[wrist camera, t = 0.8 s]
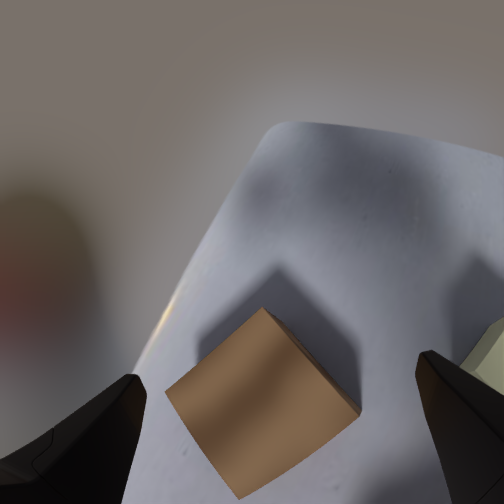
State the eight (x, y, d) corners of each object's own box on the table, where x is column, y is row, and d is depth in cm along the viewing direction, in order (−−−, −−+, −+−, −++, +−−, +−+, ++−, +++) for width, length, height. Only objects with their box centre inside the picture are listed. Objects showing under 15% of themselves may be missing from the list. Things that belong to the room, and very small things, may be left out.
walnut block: (361, 410, 21) (359, 416, 16) (263, 483, 20) (239, 500, 16) (282, 321, 26) (262, 306, 22) (197, 393, 26) (164, 391, 22)
